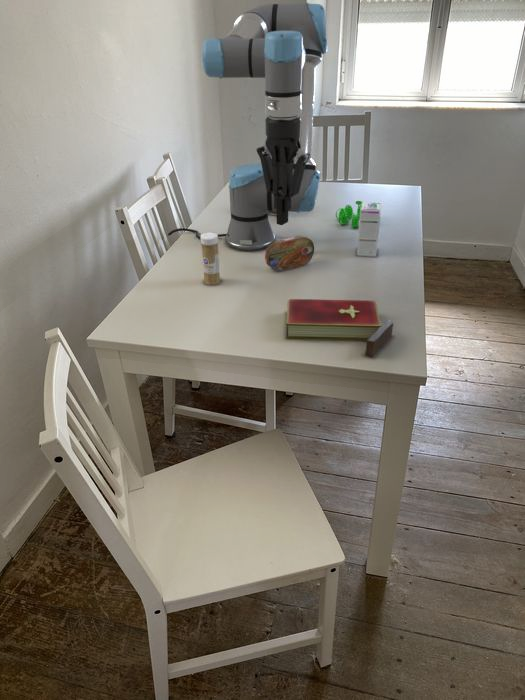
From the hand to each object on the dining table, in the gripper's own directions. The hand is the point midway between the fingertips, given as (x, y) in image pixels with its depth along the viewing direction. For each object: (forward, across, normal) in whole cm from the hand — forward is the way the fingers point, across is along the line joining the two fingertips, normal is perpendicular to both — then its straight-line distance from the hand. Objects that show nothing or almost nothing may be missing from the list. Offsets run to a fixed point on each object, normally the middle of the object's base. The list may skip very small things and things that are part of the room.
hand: (282, 222), depth 125 cm
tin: (+21, -8, +16) cm, 28 cm away
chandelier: (+21, -9, +58) cm, 63 cm away
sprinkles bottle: (+21, -20, -4) cm, 29 cm away
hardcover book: (+20, +18, -5) cm, 27 cm away
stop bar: (+20, +30, -7) cm, 37 cm away
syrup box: (+21, +5, +37) cm, 43 cm away
